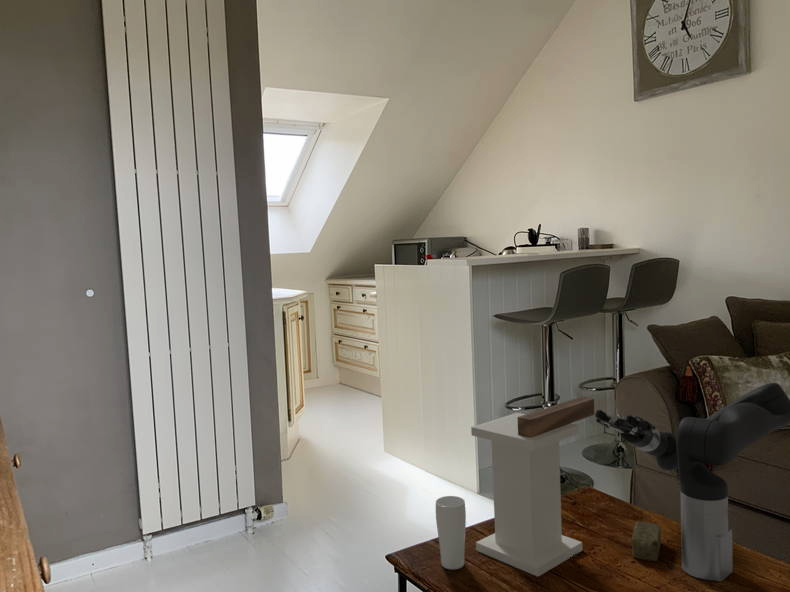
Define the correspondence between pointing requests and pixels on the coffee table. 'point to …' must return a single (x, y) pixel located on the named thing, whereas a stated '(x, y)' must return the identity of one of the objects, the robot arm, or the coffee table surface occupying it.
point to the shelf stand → (526, 497)
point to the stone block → (646, 541)
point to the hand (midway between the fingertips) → (612, 415)
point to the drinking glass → (451, 530)
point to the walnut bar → (555, 416)
